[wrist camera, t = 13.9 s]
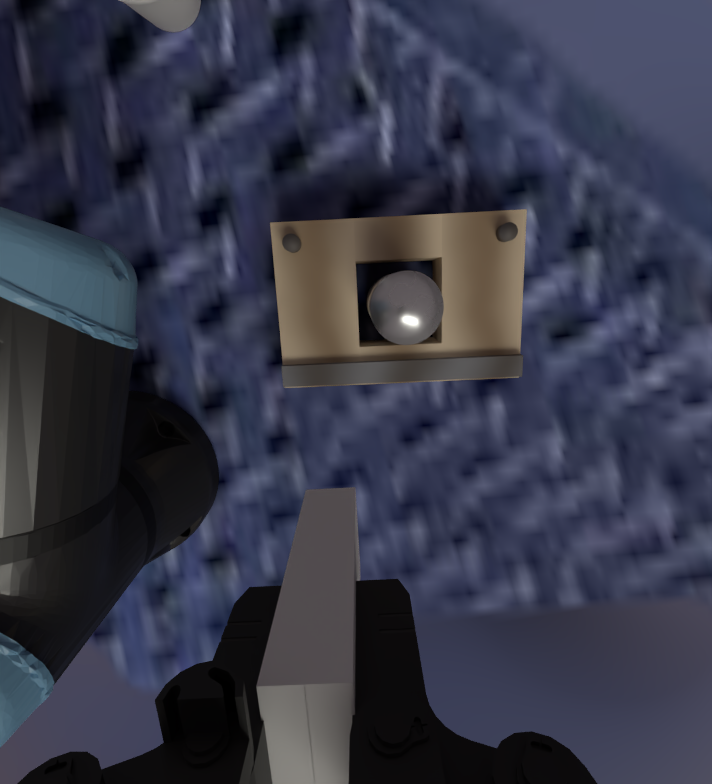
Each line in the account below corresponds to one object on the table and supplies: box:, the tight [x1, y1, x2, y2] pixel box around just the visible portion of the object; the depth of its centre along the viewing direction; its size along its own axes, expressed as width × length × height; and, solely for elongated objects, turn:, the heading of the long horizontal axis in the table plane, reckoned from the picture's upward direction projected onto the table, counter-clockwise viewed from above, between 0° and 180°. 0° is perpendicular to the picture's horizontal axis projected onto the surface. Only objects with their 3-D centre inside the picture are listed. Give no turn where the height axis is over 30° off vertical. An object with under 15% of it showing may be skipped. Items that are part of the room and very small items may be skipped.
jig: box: [270, 209, 527, 388], centre depth 33 cm, size 18×12×5 cm, turn 93°
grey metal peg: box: [366, 270, 444, 345], centre depth 30 cm, size 4×4×10 cm
